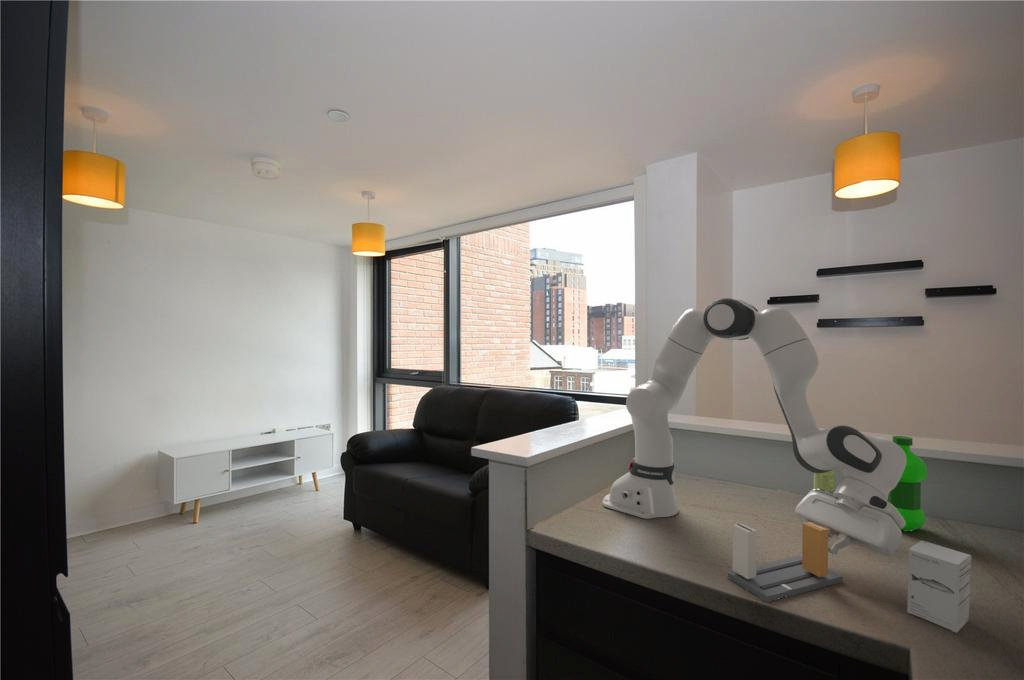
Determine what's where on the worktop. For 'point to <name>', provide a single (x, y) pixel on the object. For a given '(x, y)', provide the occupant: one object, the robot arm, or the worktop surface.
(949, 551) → the supplement box
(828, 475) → the tube
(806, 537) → the fader orange
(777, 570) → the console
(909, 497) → the plastic bottle
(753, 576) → the fader white
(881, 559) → the worktop surface
